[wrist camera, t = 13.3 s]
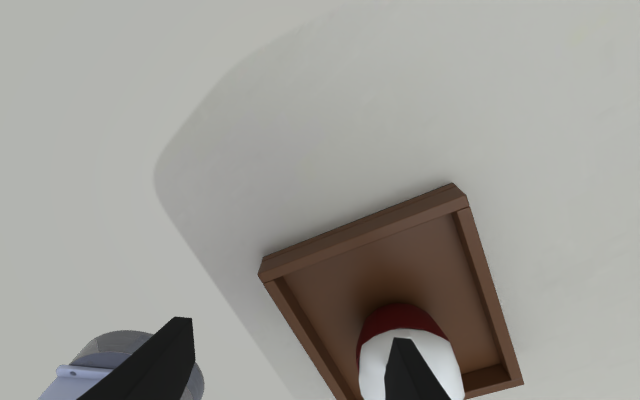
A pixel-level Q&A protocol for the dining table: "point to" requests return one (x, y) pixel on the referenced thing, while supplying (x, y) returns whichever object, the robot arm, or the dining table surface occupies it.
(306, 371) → the dining table surface
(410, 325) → the cocoa
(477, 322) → the tray
